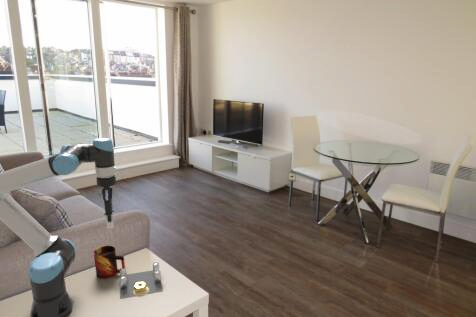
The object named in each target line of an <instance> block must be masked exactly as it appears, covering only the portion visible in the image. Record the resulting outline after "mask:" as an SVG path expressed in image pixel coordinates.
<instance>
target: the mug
mask: <svg viewBox="0 0 476 317" xmlns="http://www.w3.org/2000/svg"><path fill="white" fill-rule="evenodd" d="M116 253H117V251H116V247H115V246H113V245H104V246H100V247H98V248H96V249H95V250H94V251H93V258H94V259H93V260H94V267H95V274H96V277H97V278H98V279H103V280H104V279H105V280H106V279H110V278H112V277H115V276H116V275H117V274H120V268H118V261H121V268H122V267H125V268H126V265H125V264H126V262H125V256H122V255H117V254H116Z"/></svg>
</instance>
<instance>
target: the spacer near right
mask: <svg viewBox="0 0 476 317" xmlns="http://www.w3.org/2000/svg"><path fill="white" fill-rule="evenodd" d="M161 278H162V276H161V270H160V269H159V270H156V271H154V283H160V282H161V283H162V279H161Z"/></svg>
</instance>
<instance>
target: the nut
mask: <svg viewBox="0 0 476 317" xmlns="http://www.w3.org/2000/svg"><path fill="white" fill-rule="evenodd" d="M145 289H146V284H145V283H144V282H137V283H136V284H135V285H134V291H136V292H137V293H141V292H144V291H145Z"/></svg>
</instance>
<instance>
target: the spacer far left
mask: <svg viewBox="0 0 476 317" xmlns="http://www.w3.org/2000/svg"><path fill="white" fill-rule="evenodd" d="M119 269H120V273H119V278H120V277H121V276H126V278H127V274H128V273H127V267H126V266H125V267H122V266H121V267H120V268H119Z"/></svg>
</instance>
